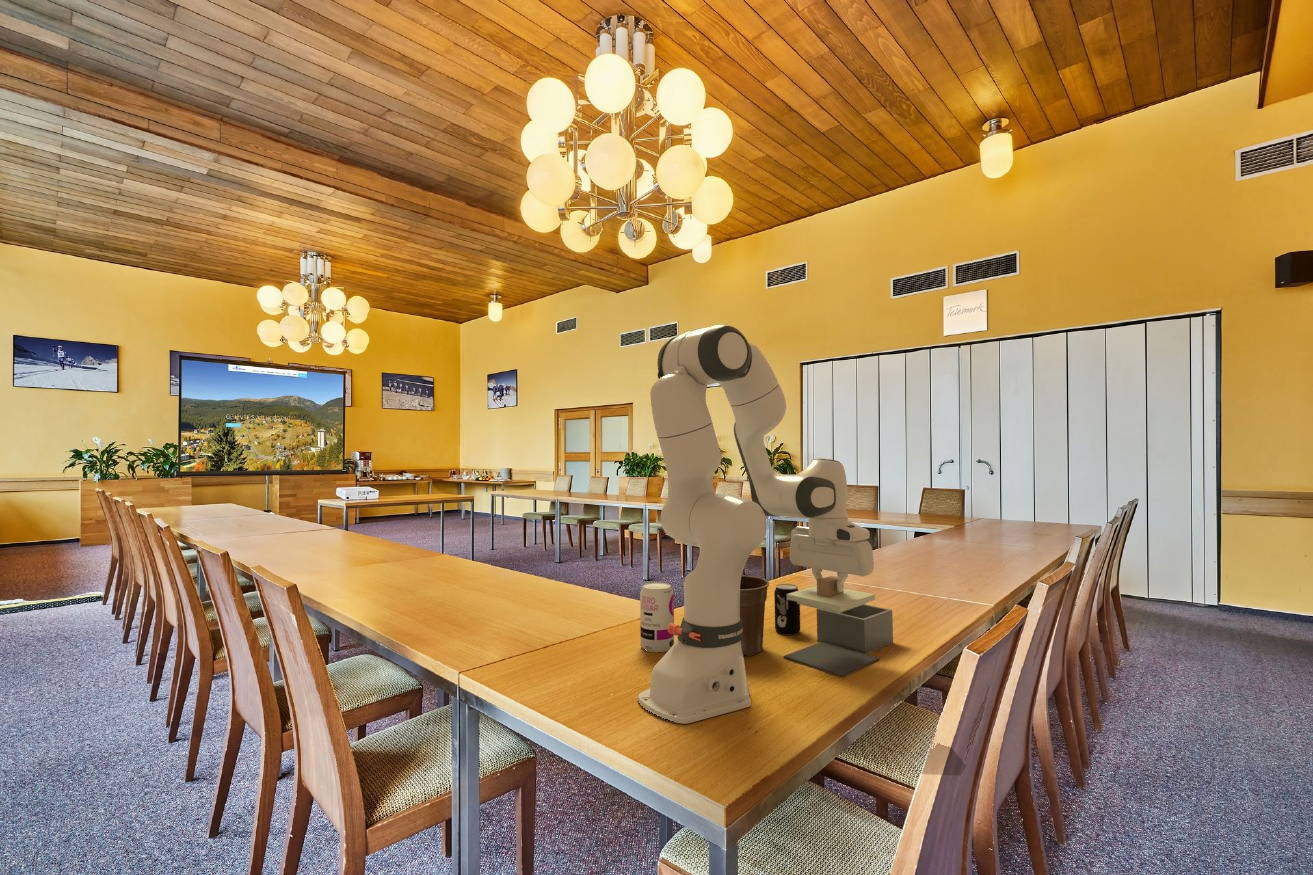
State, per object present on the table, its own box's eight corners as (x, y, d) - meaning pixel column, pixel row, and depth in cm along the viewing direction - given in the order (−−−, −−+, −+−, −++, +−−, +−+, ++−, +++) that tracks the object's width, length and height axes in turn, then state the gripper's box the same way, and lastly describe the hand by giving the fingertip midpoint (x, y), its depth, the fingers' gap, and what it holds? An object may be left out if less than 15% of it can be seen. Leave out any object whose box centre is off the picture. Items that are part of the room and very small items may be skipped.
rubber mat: (841, 677, 117) (841, 674, 117) (783, 657, 128) (783, 655, 128) (878, 660, 126) (878, 658, 126) (821, 643, 138) (821, 641, 138)
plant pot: (691, 653, 132) (691, 585, 132) (717, 634, 146) (716, 572, 147) (758, 665, 124) (757, 592, 125) (778, 643, 138) (777, 578, 139)
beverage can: (803, 635, 144) (802, 588, 145) (777, 635, 144) (776, 589, 145) (797, 627, 151) (796, 583, 151) (772, 628, 151) (772, 583, 152)
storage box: (865, 654, 130) (864, 619, 130) (817, 640, 140) (816, 608, 140) (893, 642, 138) (892, 609, 139) (846, 630, 148) (845, 600, 149)
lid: (840, 616, 118) (839, 589, 118) (786, 603, 129) (786, 578, 129) (875, 603, 127) (874, 578, 127) (822, 593, 138) (821, 569, 138)
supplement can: (675, 642, 140) (674, 582, 140) (672, 654, 132) (672, 589, 132) (643, 641, 141) (642, 581, 141) (638, 653, 132) (638, 589, 133)
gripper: (783, 526, 135) (784, 584, 134) (860, 534, 119) (863, 600, 118) (799, 524, 139) (800, 580, 138) (876, 531, 123) (878, 595, 122)
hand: (830, 589), depth 128 cm, fingers closed on lid, 3 cm apart
